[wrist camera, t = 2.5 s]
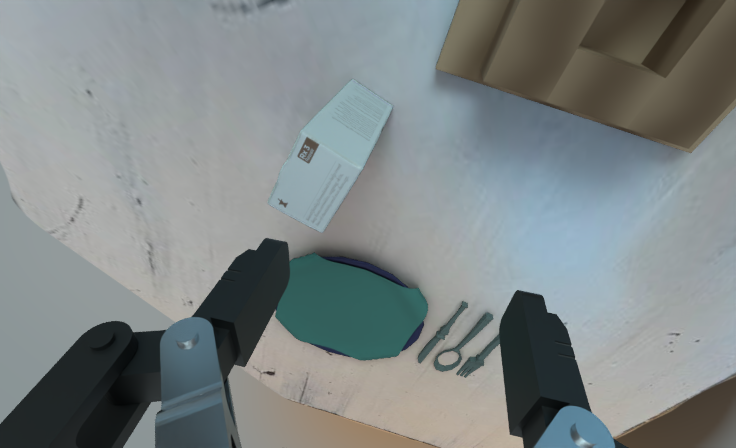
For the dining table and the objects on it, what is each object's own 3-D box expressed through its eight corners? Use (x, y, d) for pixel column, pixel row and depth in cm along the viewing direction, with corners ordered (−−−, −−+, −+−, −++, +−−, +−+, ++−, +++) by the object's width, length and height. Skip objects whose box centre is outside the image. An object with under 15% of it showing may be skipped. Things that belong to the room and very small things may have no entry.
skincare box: (361, 158, 33) (324, 240, 23) (319, 132, 32) (263, 207, 22) (396, 102, 29) (369, 173, 20) (349, 72, 28) (298, 130, 19)
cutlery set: (288, 224, 40) (281, 237, 38) (531, 309, 41) (535, 325, 39) (269, 319, 52) (263, 332, 51) (456, 382, 54) (456, 397, 52)
